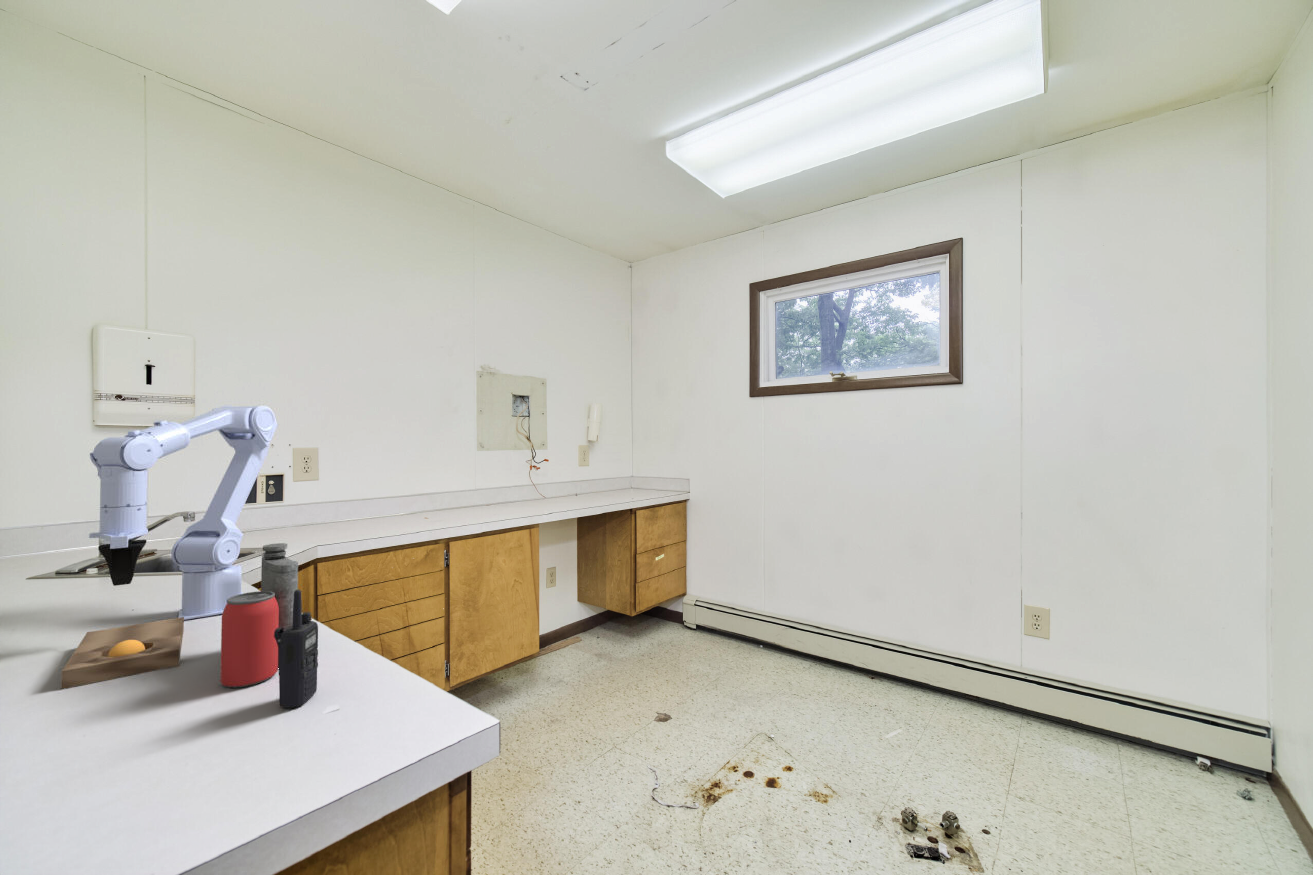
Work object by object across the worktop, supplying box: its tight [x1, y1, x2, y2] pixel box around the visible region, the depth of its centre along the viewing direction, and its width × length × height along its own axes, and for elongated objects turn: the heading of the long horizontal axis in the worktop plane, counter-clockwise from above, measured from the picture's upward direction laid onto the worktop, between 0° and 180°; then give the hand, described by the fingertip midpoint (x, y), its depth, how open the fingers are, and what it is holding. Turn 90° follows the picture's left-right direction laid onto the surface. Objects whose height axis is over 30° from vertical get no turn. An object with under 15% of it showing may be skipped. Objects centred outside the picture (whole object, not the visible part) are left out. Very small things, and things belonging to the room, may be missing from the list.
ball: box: [108, 640, 145, 657], centre depth 79 cm, size 4×4×4 cm
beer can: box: [220, 590, 279, 689], centre depth 75 cm, size 7×7×12 cm
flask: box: [260, 542, 299, 668], centre depth 84 cm, size 4×14×18 cm, turn 45°
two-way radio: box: [274, 589, 319, 709], centre depth 69 cm, size 6×4×15 cm
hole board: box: [60, 617, 185, 690], centre depth 83 cm, size 12×20×2 cm, turn 41°
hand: (122, 584), depth 90 cm, fingers closed
